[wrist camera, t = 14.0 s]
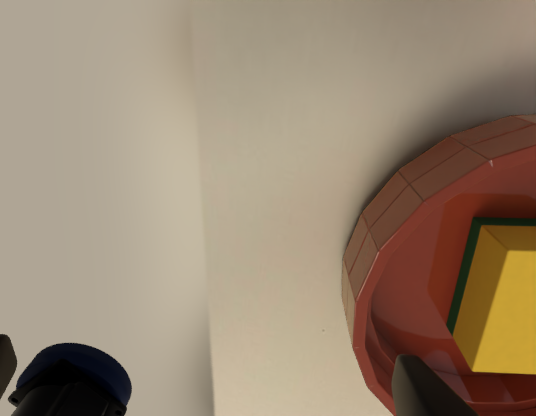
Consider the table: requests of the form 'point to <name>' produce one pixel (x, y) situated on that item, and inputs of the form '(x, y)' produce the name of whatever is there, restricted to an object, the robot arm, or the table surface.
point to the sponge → (497, 297)
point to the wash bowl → (436, 260)
